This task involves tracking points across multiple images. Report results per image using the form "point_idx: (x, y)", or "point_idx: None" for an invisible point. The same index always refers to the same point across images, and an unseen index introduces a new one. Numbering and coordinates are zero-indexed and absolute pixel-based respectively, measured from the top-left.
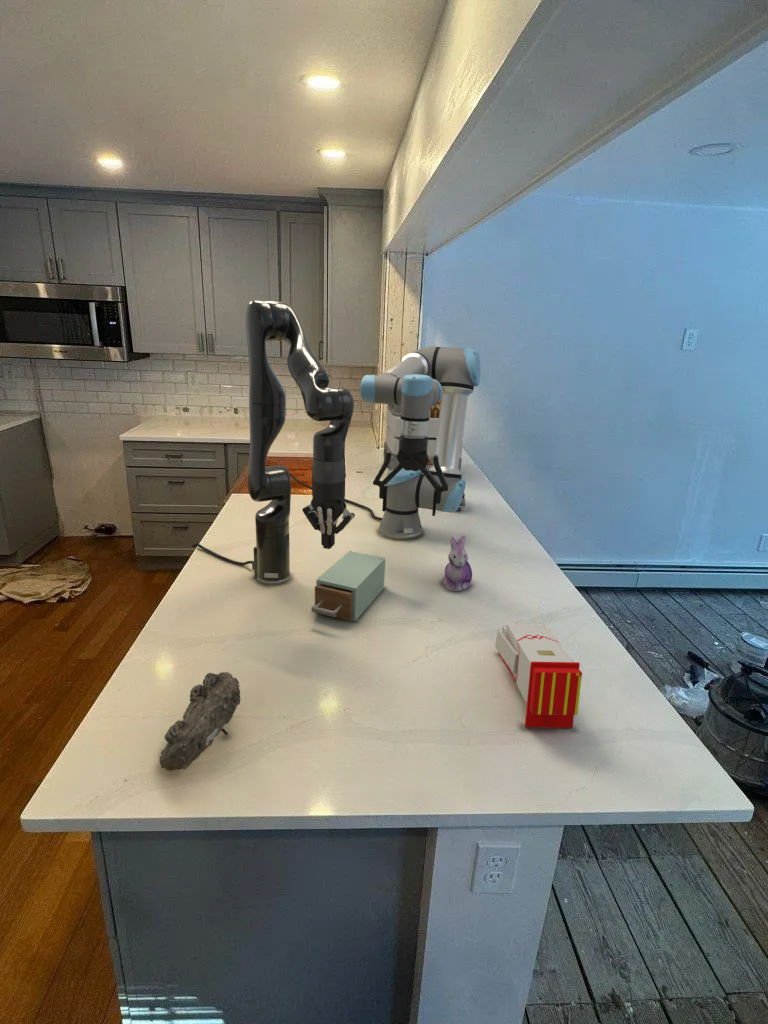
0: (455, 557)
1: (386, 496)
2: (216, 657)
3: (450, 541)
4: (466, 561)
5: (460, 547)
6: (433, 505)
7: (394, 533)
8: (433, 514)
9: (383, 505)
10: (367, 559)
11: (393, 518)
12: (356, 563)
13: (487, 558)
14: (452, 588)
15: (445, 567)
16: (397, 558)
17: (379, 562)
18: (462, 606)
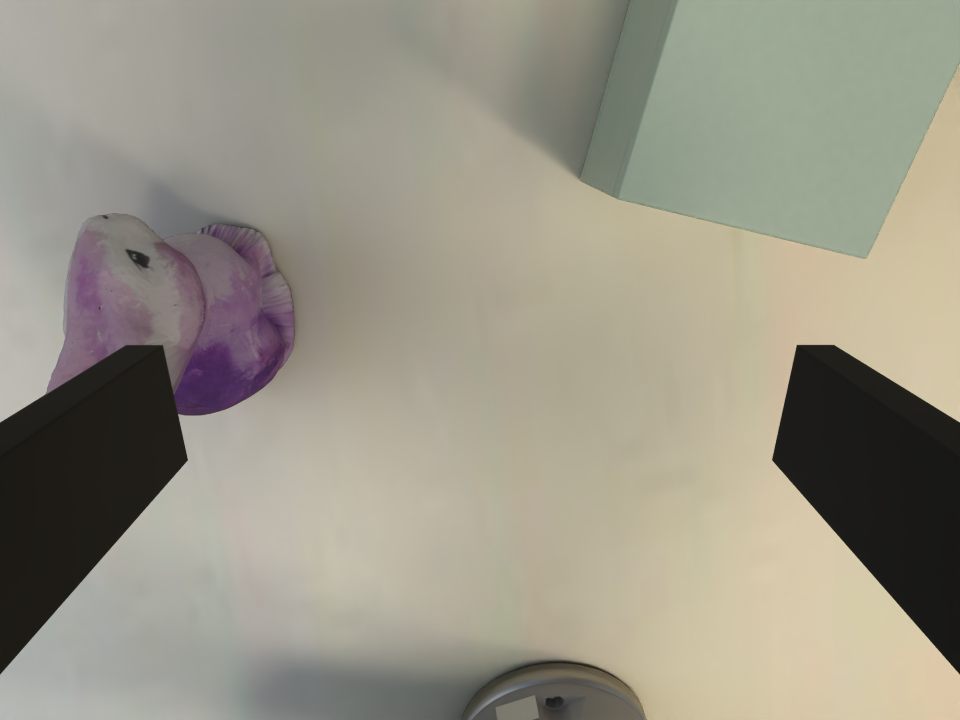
0: (129, 251)
1: (905, 527)
2: None
3: None
4: None
5: (80, 325)
6: (56, 413)
7: (578, 689)
8: (134, 352)
9: (874, 380)
10: (742, 139)
11: None
12: (822, 45)
13: (148, 582)
14: (233, 232)
15: (271, 352)
16: (542, 501)
17: (654, 107)
18: (156, 67)
